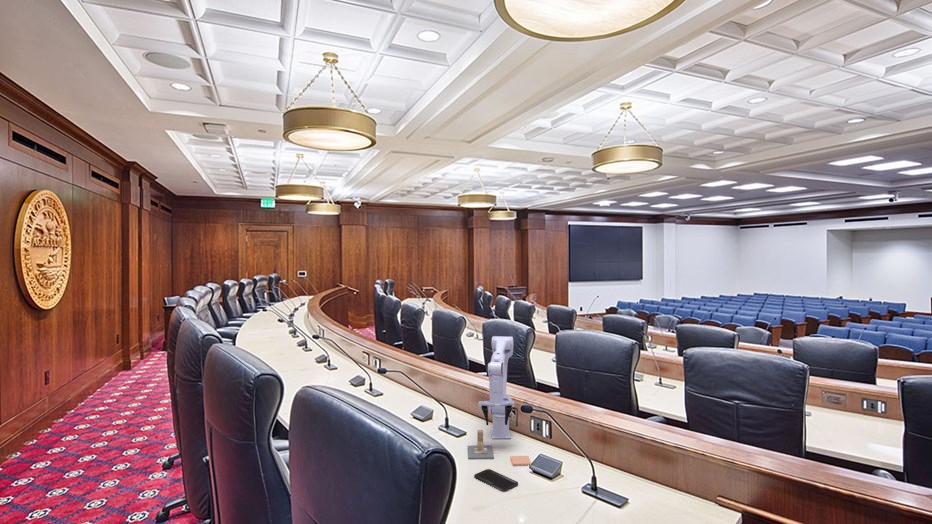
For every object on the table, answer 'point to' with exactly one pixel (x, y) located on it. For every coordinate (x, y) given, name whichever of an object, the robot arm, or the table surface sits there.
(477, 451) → the grey square paddle
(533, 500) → the table surface
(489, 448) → the mat
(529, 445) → the table surface
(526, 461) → the tile
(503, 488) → the phone
